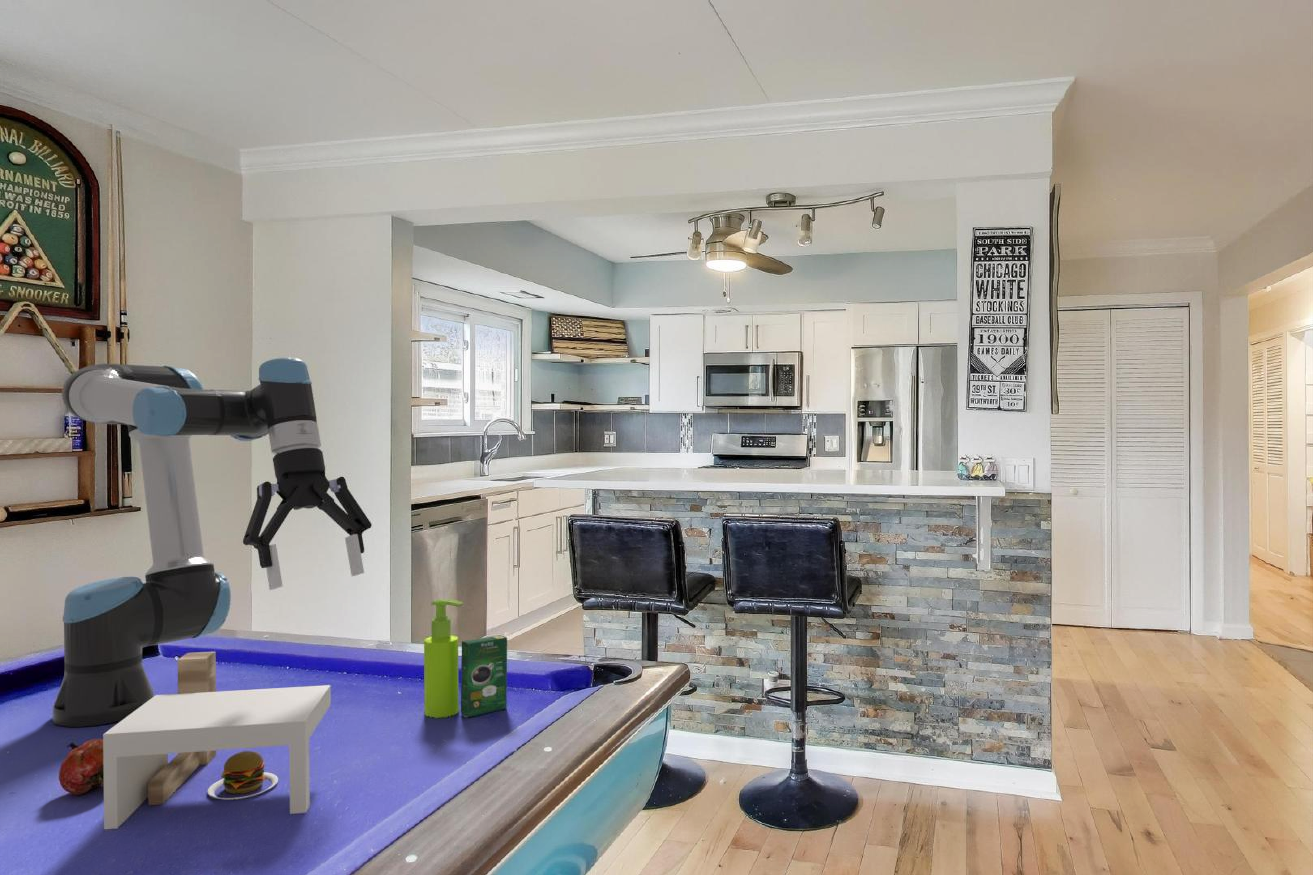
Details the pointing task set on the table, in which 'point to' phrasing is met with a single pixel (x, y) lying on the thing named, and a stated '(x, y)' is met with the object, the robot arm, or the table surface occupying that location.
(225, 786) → the hamburger
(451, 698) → the soap dispenser
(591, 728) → the table surface
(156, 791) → the block
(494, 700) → the coffee box
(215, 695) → the shelf
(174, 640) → the robot arm
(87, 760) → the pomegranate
